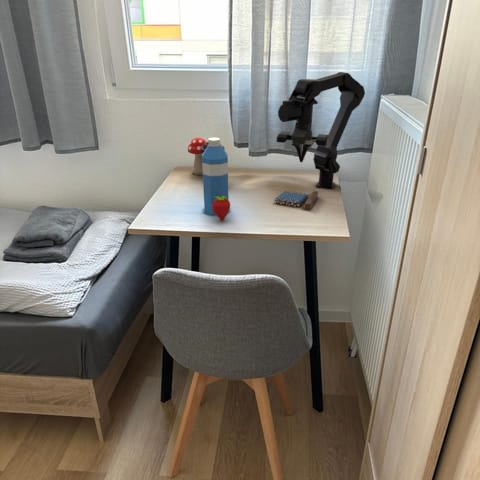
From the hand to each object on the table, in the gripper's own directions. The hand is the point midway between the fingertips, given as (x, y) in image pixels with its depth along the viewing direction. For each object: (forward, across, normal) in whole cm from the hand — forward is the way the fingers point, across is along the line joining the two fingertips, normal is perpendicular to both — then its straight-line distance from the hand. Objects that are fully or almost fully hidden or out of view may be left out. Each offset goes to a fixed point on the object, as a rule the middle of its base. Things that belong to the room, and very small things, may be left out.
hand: (301, 162), depth 185 cm
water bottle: (+12, -24, -28) cm, 39 cm away
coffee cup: (+12, -38, +4) cm, 40 cm away
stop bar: (+12, +7, -10) cm, 17 cm away
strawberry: (+12, -19, -36) cm, 42 cm away
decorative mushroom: (+12, -47, +11) cm, 50 cm away
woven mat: (+12, -1, -10) cm, 16 cm away
